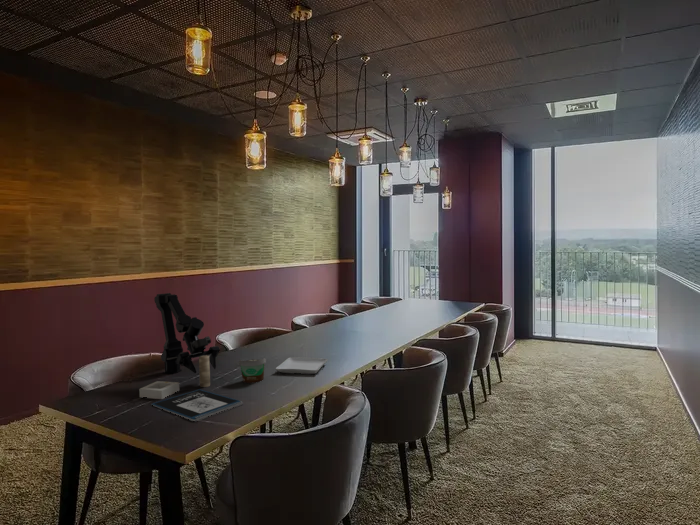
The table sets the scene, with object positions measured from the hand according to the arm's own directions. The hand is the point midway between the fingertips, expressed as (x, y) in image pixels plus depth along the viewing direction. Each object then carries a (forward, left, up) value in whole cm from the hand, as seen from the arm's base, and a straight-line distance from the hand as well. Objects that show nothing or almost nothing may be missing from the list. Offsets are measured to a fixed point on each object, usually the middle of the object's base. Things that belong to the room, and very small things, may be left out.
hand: (205, 370), depth 203 cm
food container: (+18, +10, -7) cm, 22 cm away
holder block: (-13, -14, -7) cm, 20 cm away
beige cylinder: (-1, 0, -7) cm, 7 cm away
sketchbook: (+11, -22, -8) cm, 25 cm away
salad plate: (+32, +34, -8) cm, 47 cm away
